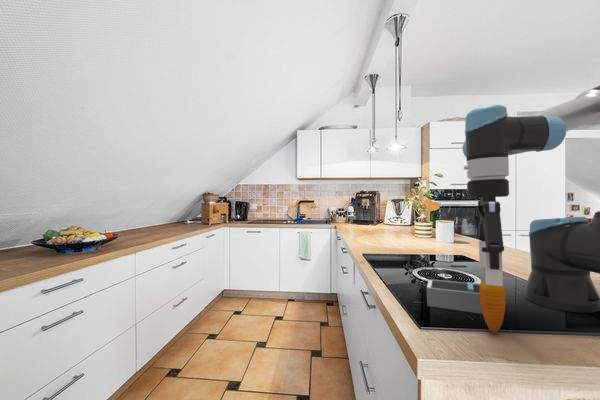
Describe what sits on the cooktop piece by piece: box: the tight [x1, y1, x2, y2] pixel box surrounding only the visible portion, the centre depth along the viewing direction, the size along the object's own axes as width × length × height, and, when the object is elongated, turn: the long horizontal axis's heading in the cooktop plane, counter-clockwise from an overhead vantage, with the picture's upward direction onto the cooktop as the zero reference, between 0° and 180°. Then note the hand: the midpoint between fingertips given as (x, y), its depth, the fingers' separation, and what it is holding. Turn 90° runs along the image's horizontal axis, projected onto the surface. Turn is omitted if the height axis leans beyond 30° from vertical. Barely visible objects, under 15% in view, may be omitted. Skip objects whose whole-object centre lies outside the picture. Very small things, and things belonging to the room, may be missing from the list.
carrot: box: [479, 267, 506, 335], centre depth 59 cm, size 5×5×15 cm
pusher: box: [466, 281, 474, 292], centre depth 74 cm, size 1×6×4 cm, turn 151°
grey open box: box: [426, 278, 483, 315], centre depth 75 cm, size 17×9×5 cm, turn 61°
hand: (489, 276), depth 59 cm, fingers open, 13 cm apart
